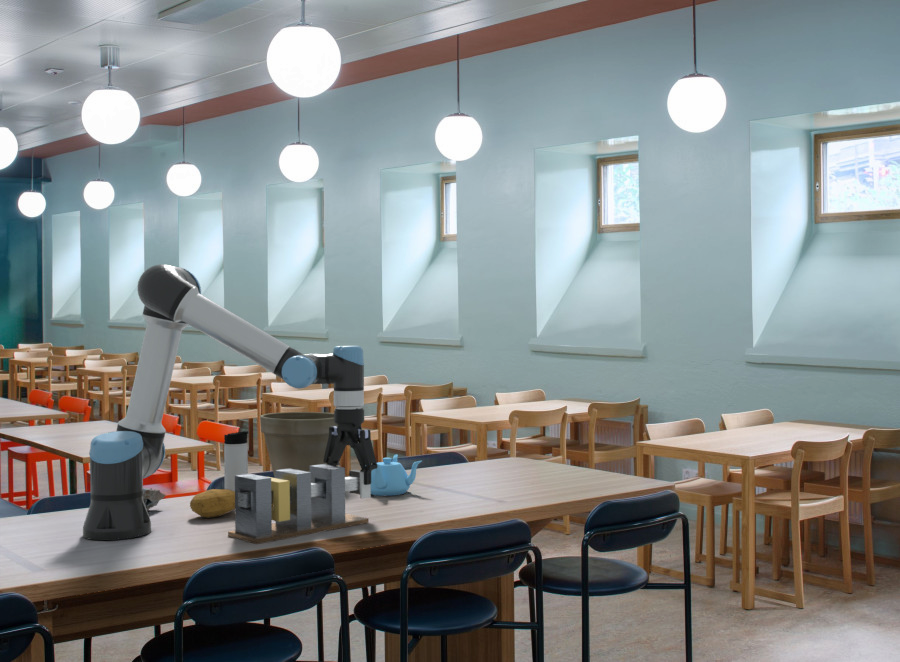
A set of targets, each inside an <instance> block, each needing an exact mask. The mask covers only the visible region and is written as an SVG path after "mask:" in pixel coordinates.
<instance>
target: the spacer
mask: <svg viewBox="0 0 900 662" xmlns="http://www.w3.org/2000/svg"><path fill="white" fill-rule="evenodd" d="M269 477H270V476H269ZM270 478H271V491H273V503H272V504H271V513H272V521H273V522H276V521H278V522H280V521H286V520H290V481H288V480H282V479H277V478H275V477H270Z"/></svg>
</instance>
